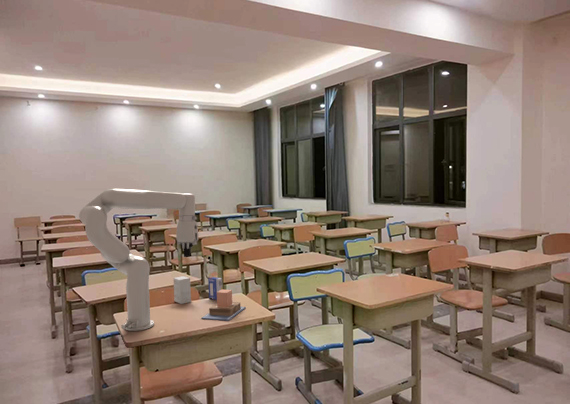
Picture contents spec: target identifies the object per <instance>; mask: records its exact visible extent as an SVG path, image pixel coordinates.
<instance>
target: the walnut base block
mask: <svg viewBox="0 0 570 404" xmlns="http://www.w3.org/2000/svg"><path fill="white" fill-rule="evenodd" d="M241 307H242V306H241V302H237V301H232V305H230V306H229V307H217V303H216V304H214V305H212V306H210V307H209V309H208V312H209V315H224V316H231V315H232V314H234V313H235V312H236V311H238V310H239V309H240V308H241Z"/></svg>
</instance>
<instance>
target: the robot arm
mask: <svg viewBox="0 0 570 404" xmlns="http://www.w3.org/2000/svg"><path fill="white" fill-rule="evenodd" d="M195 197H196V195H194V193H181V192H168V191H166V192H165V191H153V190H143V189H125V188H111V189H106V190H104V191H103V192H101V193H100V194H98V195H97V196H96V197H95V198H94V199H92V200H91V201H89V203H87V204H86V205H85V206H83V207H82V209H81V210H80V211H79V214H78V219H79V220H80V222H81V223H82V224H83V225H85V226H84V227H85V229H84V230H85V234H86V238H87V240H88V242H89V243H90V244H92V245H93V246H94V247H95V248H96V249H97V250H98V251H99V252H100V255H101V257H102V258H103V260H104V261H106V262H107V263H108V264H109V265H111V266H112V267H114V269H116V270H117V271H118V272H119V273H122V274H123V275H125V276H127V277H126V283H125V285H126V287H125V288H126V289H125V290H126V310H127V319H126V321H125V323H123V324H122V325H121V326H120V328H121V329H122V330H125V331H130V332H138V331H144V330H147V329H150V328H152V327H153V326H154V325H155V321H154V320H153V319H151V306H150V305H151V303H150V301H151V300H150V287H149V285H150V284H149V283H150V282H149V281H150V270H151V267H150V263H149V261H148V260H147V258H145V257H143V256H139V255H135V254H133V253H132V252H131V251H130V248H129V246H128V245H127V244H126V243H124V242H123V241H122V240H120V239H119V238H118V237H117V236H116V235H115V234H113V233H112V232H111V231H110V230H109V228H108V226H107V221H108V213H109V212H110V211H112V210H113V209H124V210H125V209H127V210H128V209H130V210H132V209H133V210H154V209H160V210H161V209H162V210H163V209H164V210H165V209H167V210H169V209H170V210H178V221H177V224H176V233H175V235H176V236H175V237H176V238H175V239H176V244H177V245H179V246H180V247H182V249H183V257H184V258H188V257H189V258H190V257H191V253H192V252H191V249H192V248H193V246H195V245H198V241H199V228H198V222H197V221H196V220H197V219H198V218H197V217H198V216H196V214H195V213H196V205H195V204H196V198H195Z"/></svg>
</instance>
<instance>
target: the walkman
mask: <svg viewBox="0 0 570 404" xmlns="http://www.w3.org/2000/svg"><path fill="white" fill-rule="evenodd" d="M207 278H208V281H207V282H208V283H207V285H208V299H209V300H211V299H210V298H213V299H212V300H214V299H215V300H214V301H217V292H218V291H220V290H224V289H223V287H224V286H223V278H222V277H216V276H215V277H214V276H210V277H207Z"/></svg>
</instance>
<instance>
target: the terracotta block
mask: <svg viewBox="0 0 570 404" xmlns="http://www.w3.org/2000/svg"><path fill="white" fill-rule="evenodd" d="M232 302H233V290H232V289H223V290H220V291H218V292H217V300H216V304H217V307H229V306H230V305H232Z"/></svg>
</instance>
